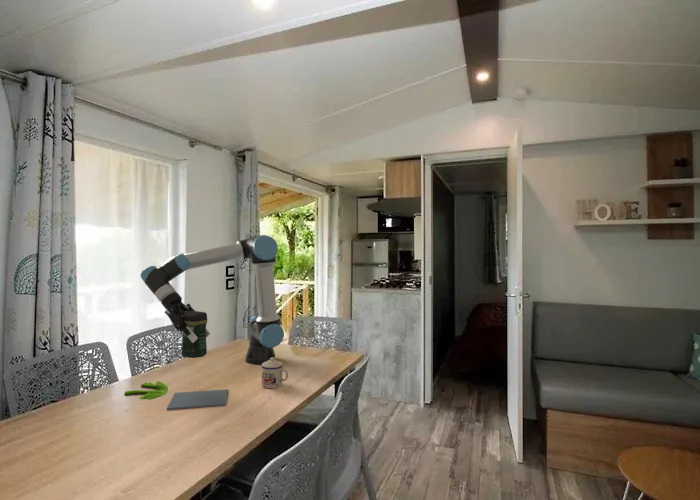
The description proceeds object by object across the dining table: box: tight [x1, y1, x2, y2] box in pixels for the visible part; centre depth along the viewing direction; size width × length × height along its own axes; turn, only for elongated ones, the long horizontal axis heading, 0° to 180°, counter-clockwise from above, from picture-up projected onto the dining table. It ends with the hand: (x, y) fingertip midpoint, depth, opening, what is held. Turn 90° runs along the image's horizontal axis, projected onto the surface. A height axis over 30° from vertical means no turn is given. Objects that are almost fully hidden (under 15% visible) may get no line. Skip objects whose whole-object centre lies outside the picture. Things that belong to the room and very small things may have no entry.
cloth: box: [124, 380, 169, 401], centre depth 156 cm, size 20×22×2 cm
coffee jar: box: [180, 310, 208, 359], centre depth 160 cm, size 10×8×19 cm
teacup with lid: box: [260, 357, 289, 389], centre depth 164 cm, size 12×9×12 cm
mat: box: [166, 389, 229, 411], centre depth 147 cm, size 20×15×1 cm
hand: (201, 338), depth 160 cm, fingers closed on coffee jar, 8 cm apart
